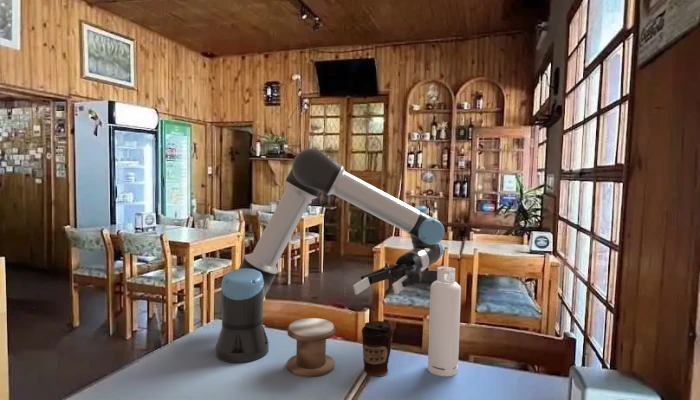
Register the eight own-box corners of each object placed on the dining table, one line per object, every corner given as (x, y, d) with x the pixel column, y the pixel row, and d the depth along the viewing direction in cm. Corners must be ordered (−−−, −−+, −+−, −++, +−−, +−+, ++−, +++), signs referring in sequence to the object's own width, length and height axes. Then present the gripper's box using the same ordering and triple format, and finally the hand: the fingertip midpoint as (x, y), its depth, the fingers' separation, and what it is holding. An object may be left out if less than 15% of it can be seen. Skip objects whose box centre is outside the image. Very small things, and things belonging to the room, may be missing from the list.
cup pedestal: (277, 365, 118) (277, 325, 118) (312, 351, 128) (312, 314, 127) (309, 382, 110) (309, 338, 109) (344, 365, 119) (345, 325, 118)
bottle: (449, 361, 123) (453, 264, 121) (463, 375, 115) (467, 271, 113) (423, 364, 121) (426, 265, 119) (434, 377, 113) (438, 272, 111)
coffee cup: (390, 381, 111) (391, 331, 110) (358, 377, 113) (359, 328, 112) (393, 366, 119) (394, 320, 118) (363, 363, 121) (364, 317, 120)
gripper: (451, 273, 127) (416, 302, 110) (382, 276, 143) (343, 302, 126) (445, 249, 126) (409, 275, 110) (377, 254, 142) (336, 278, 126)
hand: (374, 289), depth 118 cm, fingers open, 13 cm apart
